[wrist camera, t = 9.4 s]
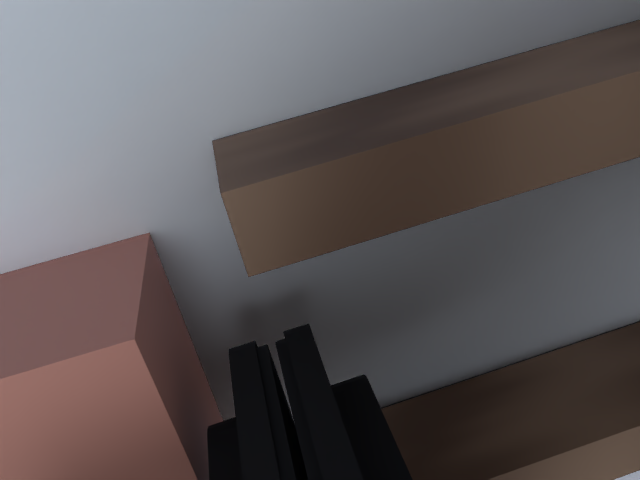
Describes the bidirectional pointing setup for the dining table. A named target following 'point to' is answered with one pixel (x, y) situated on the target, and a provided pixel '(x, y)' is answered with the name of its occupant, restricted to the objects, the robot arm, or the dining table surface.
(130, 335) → the pink square block
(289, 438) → the robot arm
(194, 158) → the dining table surface
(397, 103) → the walnut chute
